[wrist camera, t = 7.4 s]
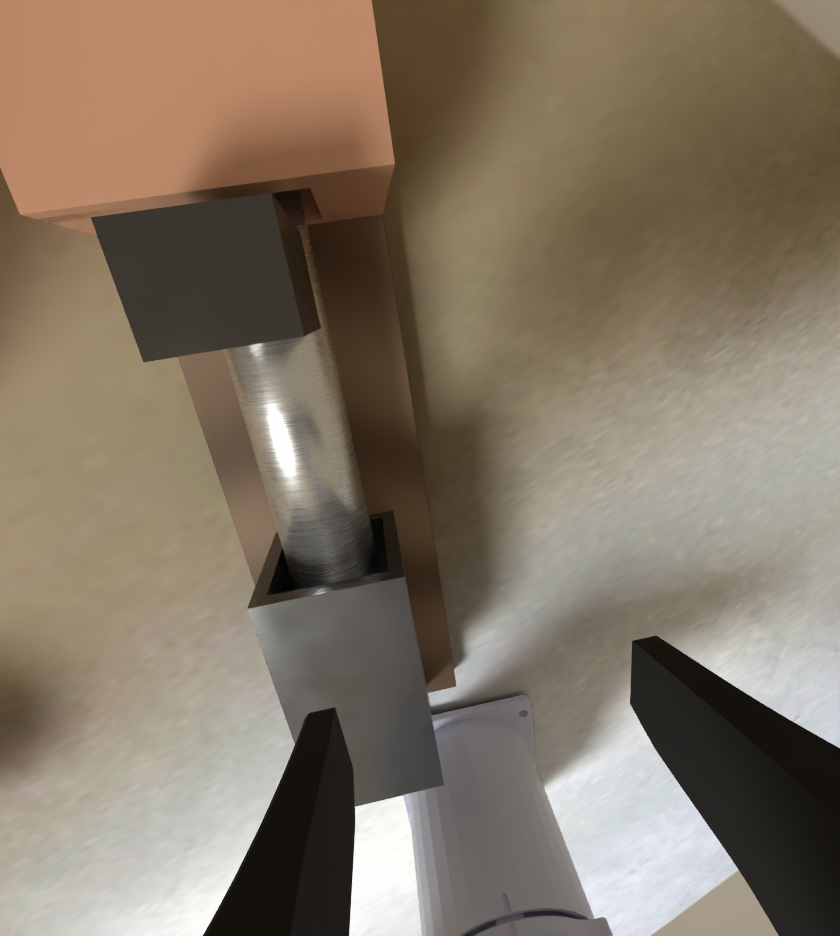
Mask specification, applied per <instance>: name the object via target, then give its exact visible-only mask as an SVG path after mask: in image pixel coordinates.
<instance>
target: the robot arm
mask: <svg viewBox="0 0 840 936" xmlns="http://www.w3.org/2000/svg"><path fill="white" fill-rule="evenodd" d="M630 704H631V706H632V708H633V710H634V711H635V713H636V715H637V717H638V719H639V721H640V723H641V724H642V726H643V728H644V730H645V732H646V733H647V735H648V737H649V739H650V740H651V742H652V744H653V746H654V748H655V749H656V751H657V752H658V754H659V755H660V757H661V758H662V760H663V761H664V762H665V764H666V765H667V767H668V768H669V770H670V771H671V773H672V774H673V775H674V777H675V778H676V780H677V781H678V783H679V784H680V786H681V787H682V788H683V790H684V791H685V793H686V794H687V796H688V797H689V798H690V800H691V801H692V803H693V804H694V806H695V807H696V809H697V810H698V811H699V813H700V814H701V816H702V817H703V819H704V820H705V821H706V823H707V824H708V826H709V827H710V829H711V830H712V831H713V833H714V834H715V836H716V837H717V839H718V840H719V841H720V843H721V844H722V846H723V847H724V849H725V850H726V851H727V853H728V854H729V856H730V857H731V859H732V860H733V862H734V863H735V865H736V866H737V868H738V869H739V871H740V872H741V874H742V875H743V877H744V878H745V880H746V882H747V883H748V885H749V886H750V888H751V890H752V891H753V893H754V895H755V896H756V898H757V900H758V901H759V903H760V905H761V906H762V908H763V910H764V911H765V913H766V915H767V916H768V918H769V920H770V921H771V923H772V925H773V926H774V928H775V930H776V932H777V933H778V935H779V936H840V748H838V747H836V746H835V745H833V744H831V743H829V742H827V741H825V740H824V739H822V738H820V737H818V736H817V735H815V734H813V733H811V732H810V731H808V730H806V729H804V728H803V727H801V726H799V725H797V724H796V723H794V722H792V721H790V720H789V719H787V718H785V717H784V716H782V715H780V714H779V713H777V712H775V711H774V710H772V709H770V708H769V707H767V706H765V705H764V704H762V703H760V702H759V701H757V700H755V699H754V698H752V697H751V696H749V695H747V694H746V693H744V692H743V691H741V690H739V689H738V688H736V687H735V686H733V685H732V684H730V683H728V682H727V681H725V680H724V679H722V678H721V677H719V676H718V675H716V674H714V673H713V672H711V671H710V670H708V669H707V668H705V667H704V666H702V665H701V664H699V663H698V662H696V661H694V660H693V659H691V658H690V657H688V656H687V655H685V654H684V653H682V652H681V651H679V650H678V649H676V648H675V647H673V646H672V645H670V644H668V643H667V642H665V641H664V640H662V639H661V638H659V637H657V636H652V637H648V638H643V639H639V640H634V641H632V665H631V697H630ZM432 720H433V725H434V731H435V736H436V742H437V747H438V753H439V759H440V764H441V770H442V775H443V781H444V785H443V786H439V787H435V788H430V789H426V790H422V791H418V792H414V793H409V794H405V795H403V797H404V801H405V805H406V809H407V813H408V817H409V821H410V825H411V830H412V840H413V849H414V859H415V869H416V879H417V889H418V899H419V909H420V919H421V929H422V936H613V935H612V932H611V930H610V927H609V925H608V922H607V920H606V918H604V917H602V918H597V919H594V916H593V913H592V911H591V908H590V906H589V903H588V900H587V898H586V895H585V893H584V890H583V888H582V885H581V882H580V880H579V877H578V875H577V872H576V869H575V867H574V864H573V862H572V859H571V857H570V854H569V851H568V849H567V846H566V844H565V841H564V838H563V836H562V833H561V831H560V828H559V826H558V823H557V820H556V818H555V815H554V813H553V810H552V807H551V805H550V802H549V800H548V797H547V795H546V792H545V789H544V787H543V784H542V782H541V779H540V776H539V774H538V771H537V769H536V760H535V747H534V734H533V721H532V708H531V702H530V700H529V698H528V697H527V696H525V695H519V696H515V697H510V698H506V699H501V700H497V701H493V702H488V703H484V704H479V705H475V706H471V707H466V708H462V709H457V710H453V711H449V712H444V713H440V714H435V715H432ZM354 835H355V799H354V774H353V766H352V762H351V759H350V756H349V752H348V749H347V745H346V742H345V739H344V735H343V732H342V728H341V725H340V722H339V718H338V715H337V711H336V708H335V707H334V708H329V709H325V710H320V711H316V712H311V713H309V714H308V715H307V716H306V717H305V719H304V722H303V725H302V728H301V731H300V733H299V736H298V739H297V741H296V744H295V746H294V749H293V752H292V754H291V757H290V759H289V761H288V764H287V766H286V769H285V771H284V773H283V776H282V778H281V781H280V783H279V785H278V787H277V790H276V792H275V794H274V796H273V799H272V801H271V803H270V805H269V808H268V810H267V812H266V814H265V816H264V819H263V821H262V823H261V825H260V827H259V829H258V831H257V834H256V836H255V838H254V840H253V842H252V844H251V846H250V848H249V850H248V852H247V854H246V856H245V858H244V860H243V862H242V864H241V866H240V868H239V870H238V872H237V874H236V876H235V878H234V880H233V882H232V884H231V885H230V887H229V889H228V891H227V893H226V895H225V897H224V899H223V900H222V902H221V904H220V906H219V908H218V910H217V912H216V913H215V915H214V917H213V919H212V921H211V922H210V924H209V926H208V928H207V929H206V931H205V933H204V935H203V936H349V925H350V908H351V890H352V872H353V854H354Z"/></svg>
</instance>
